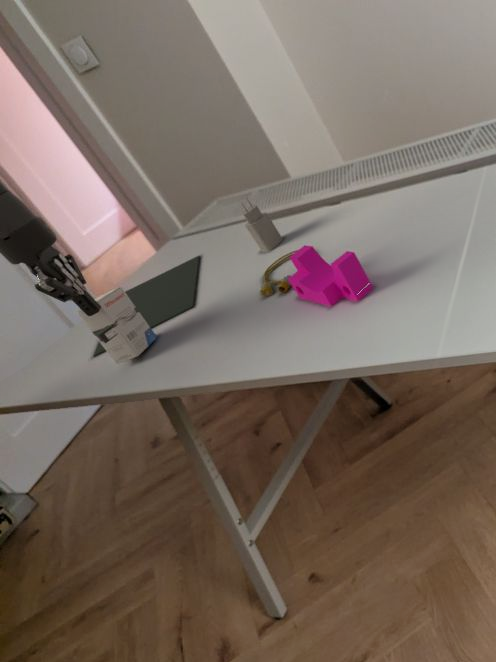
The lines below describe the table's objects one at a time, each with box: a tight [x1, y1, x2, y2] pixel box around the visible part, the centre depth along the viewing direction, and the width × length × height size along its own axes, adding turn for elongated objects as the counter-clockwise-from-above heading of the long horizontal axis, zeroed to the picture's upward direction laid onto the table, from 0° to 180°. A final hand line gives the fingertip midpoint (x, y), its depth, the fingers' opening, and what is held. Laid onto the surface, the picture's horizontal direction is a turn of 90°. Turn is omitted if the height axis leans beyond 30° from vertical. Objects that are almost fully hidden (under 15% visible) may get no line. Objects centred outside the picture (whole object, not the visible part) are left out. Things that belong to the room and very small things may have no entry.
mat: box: [93, 255, 201, 358], centre depth 123 cm, size 30×22×1 cm
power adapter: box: [240, 197, 284, 253], centre depth 121 cm, size 3×5×12 cm, turn 158°
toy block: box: [288, 244, 374, 307], centre depth 93 cm, size 15×6×8 cm, turn 51°
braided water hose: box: [260, 249, 299, 298], centre depth 109 cm, size 12×16×2 cm
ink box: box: [75, 286, 158, 365], centre depth 101 cm, size 8×5×12 cm, turn 9°
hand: (95, 312), depth 94 cm, fingers closed
